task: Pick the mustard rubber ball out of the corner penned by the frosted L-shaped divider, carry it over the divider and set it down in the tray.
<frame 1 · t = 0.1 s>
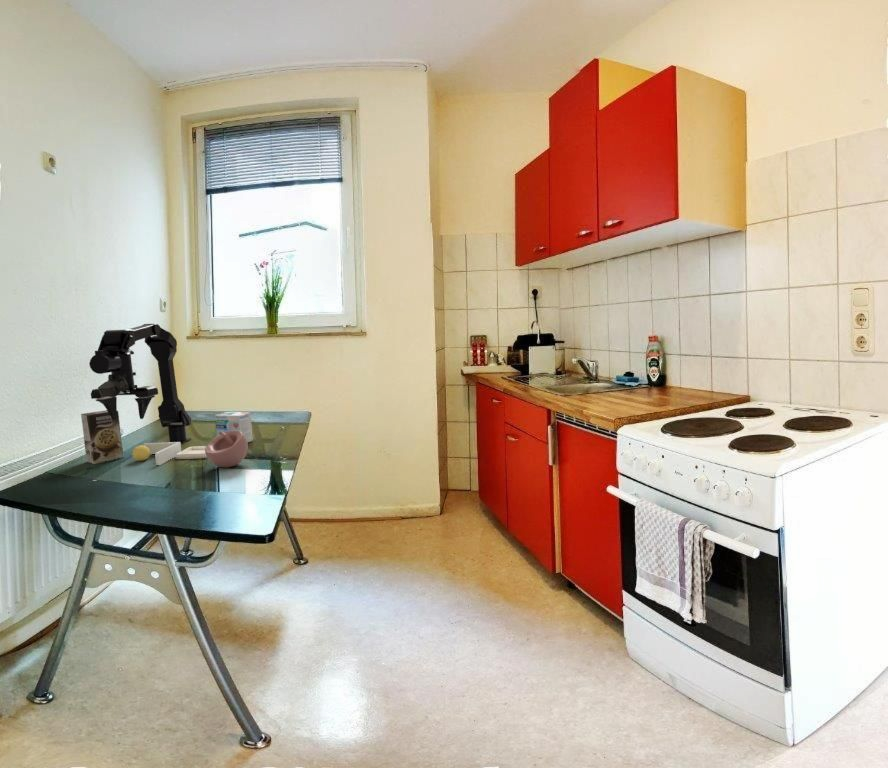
hand: (128, 419, 164), 14 cm above the table, fingers open, 9 cm apart
ball: (142, 460, 169), on the table
pink slanted bowl: (228, 467, 158), on the table
tray: (198, 454, 174), on the table
light bulb box: (235, 442, 190), on the table
divider: (169, 459, 169), on the table
brown upright rectangular box: (105, 460, 173), on the table
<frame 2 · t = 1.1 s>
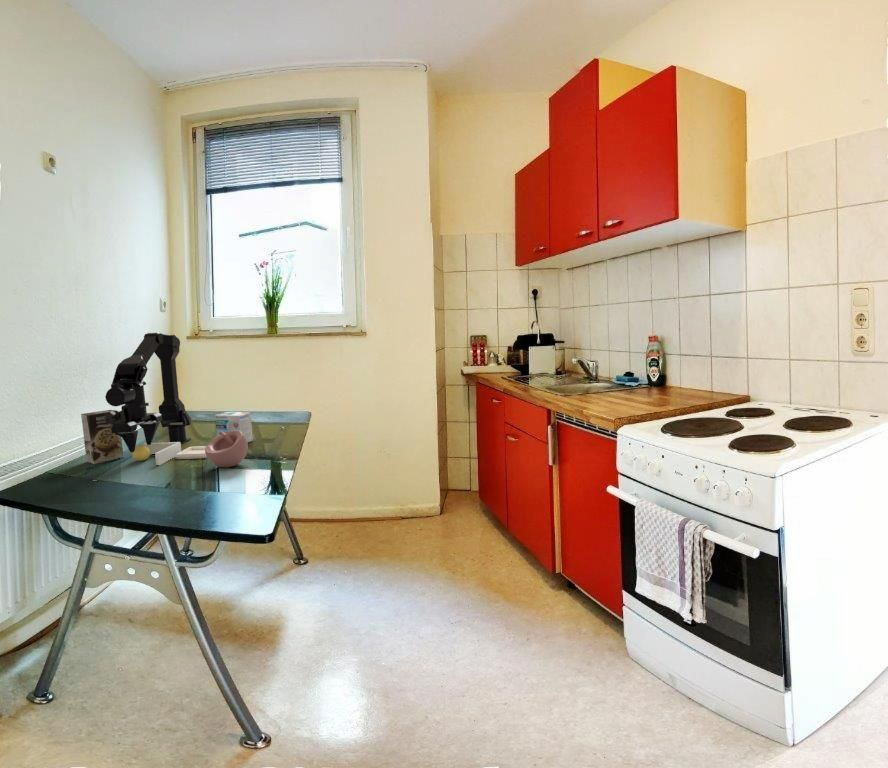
hand: (140, 448, 169), 4 cm above the table, fingers open, 9 cm apart
nothing on the table moved.
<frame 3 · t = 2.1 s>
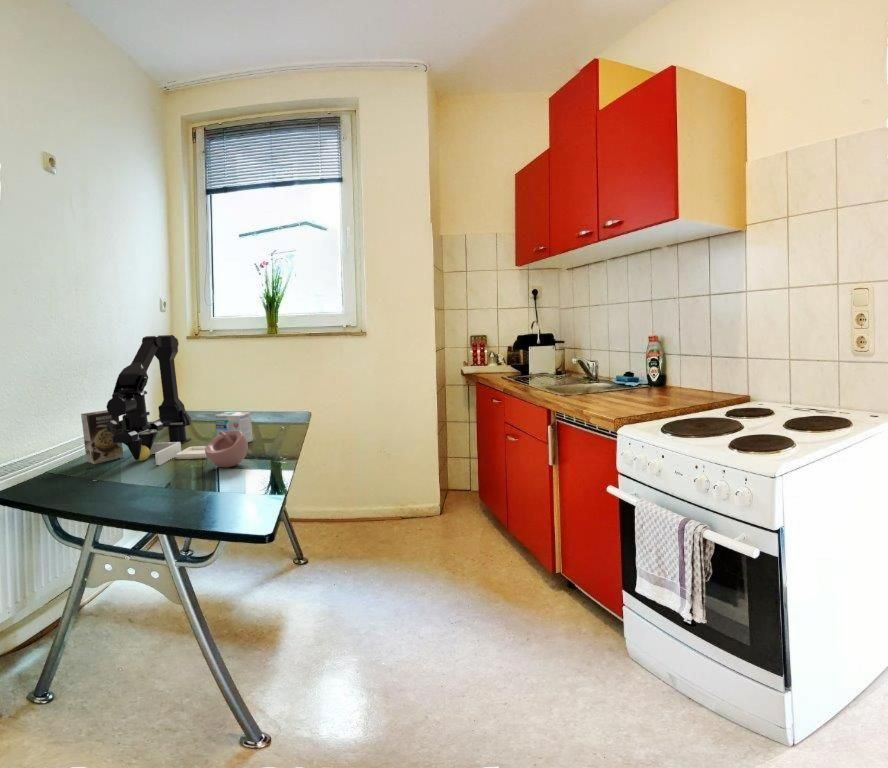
hand: (141, 457, 169), 1 cm above the table, fingers closed on ball, 5 cm apart
ball: (142, 460, 169), on the table, touching gripper
everything else where it was.
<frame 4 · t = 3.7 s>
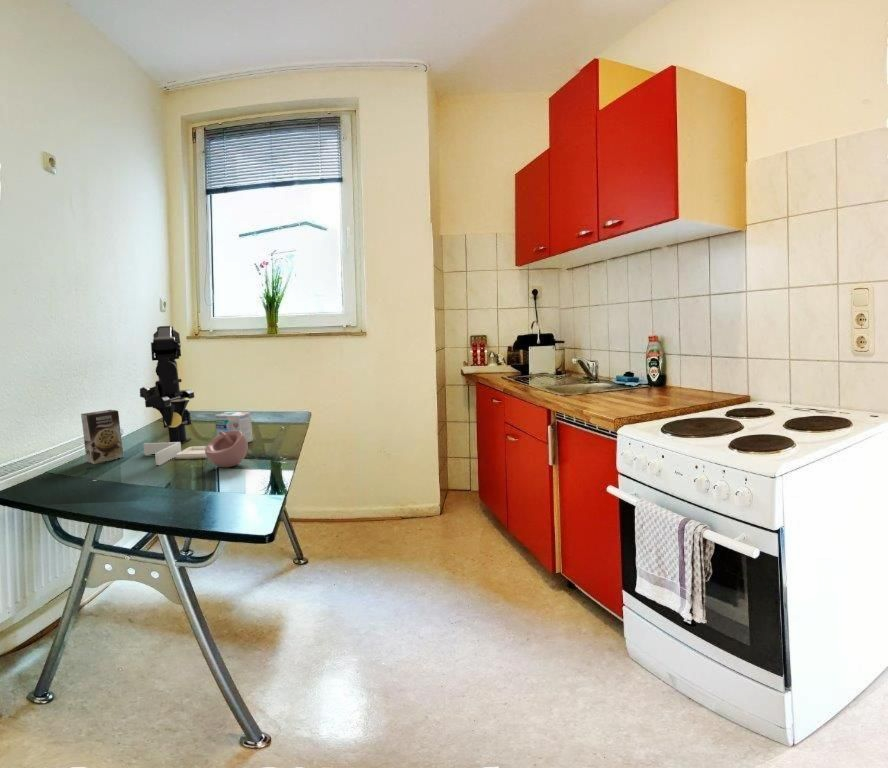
hand: (173, 424, 171), 11 cm above the table, fingers closed on ball, 5 cm apart
ball: (173, 427, 171), point 10 cm above the table, touching gripper
everything else where it was.
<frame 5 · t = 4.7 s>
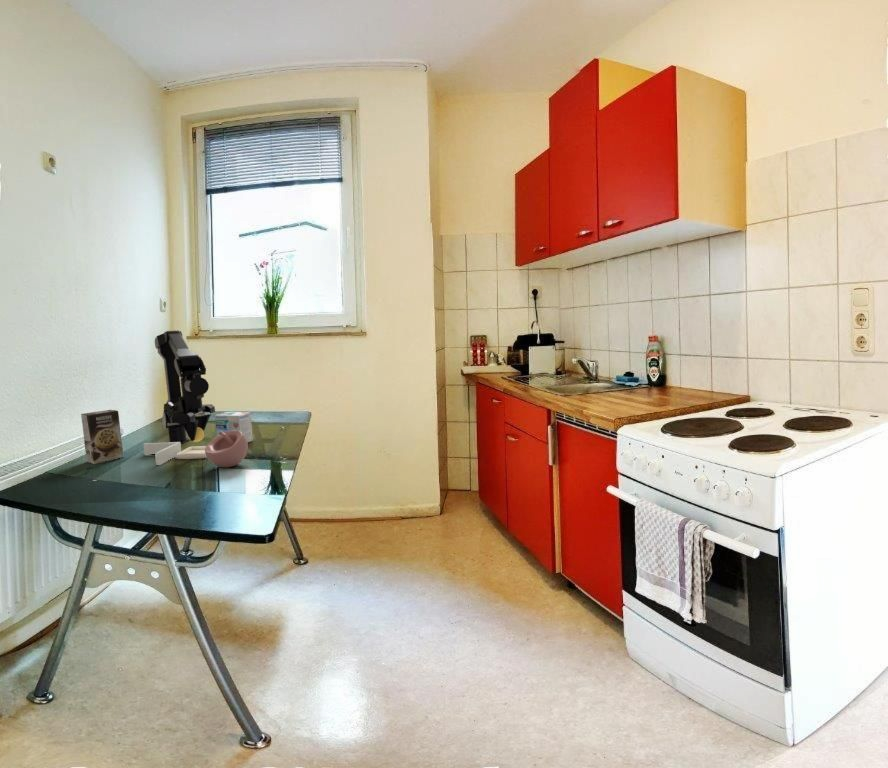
hand: (196, 438, 174), 5 cm above the table, fingers closed on ball, 5 cm apart
ball: (196, 441, 174), point 4 cm above the table, touching gripper
everything else where it was.
when the fingers open (3 cm above the table, at t = 5.3 s): ball drops 2 cm, resting on tray.
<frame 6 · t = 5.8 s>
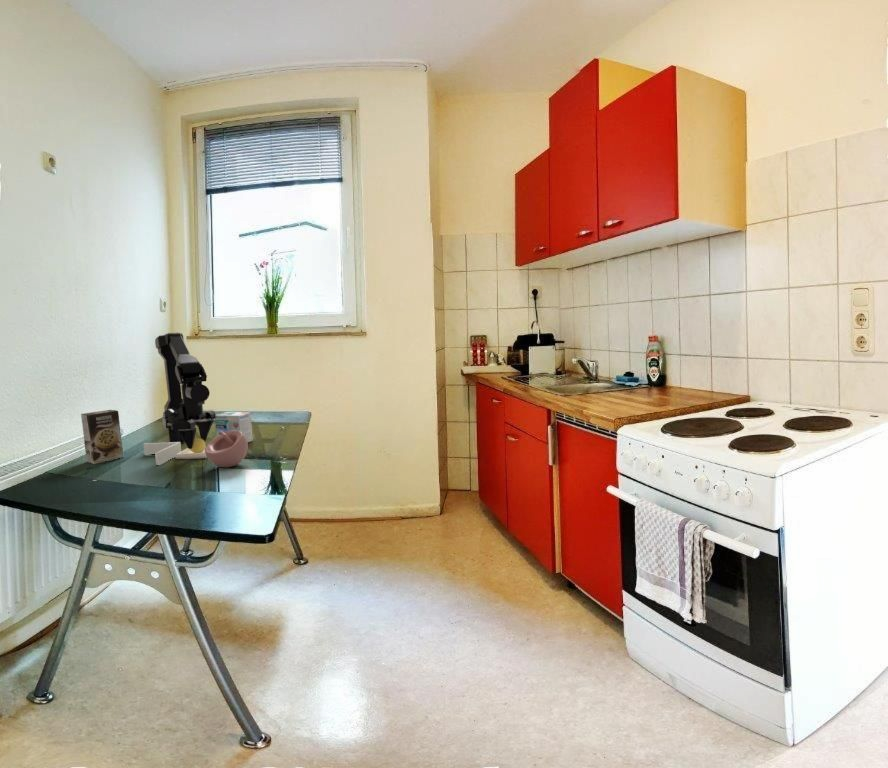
hand: (197, 445, 174), 3 cm above the table, fingers open, 9 cm apart
ball: (198, 452, 174), point 1 cm above the table, touching tray
everything else where it was.
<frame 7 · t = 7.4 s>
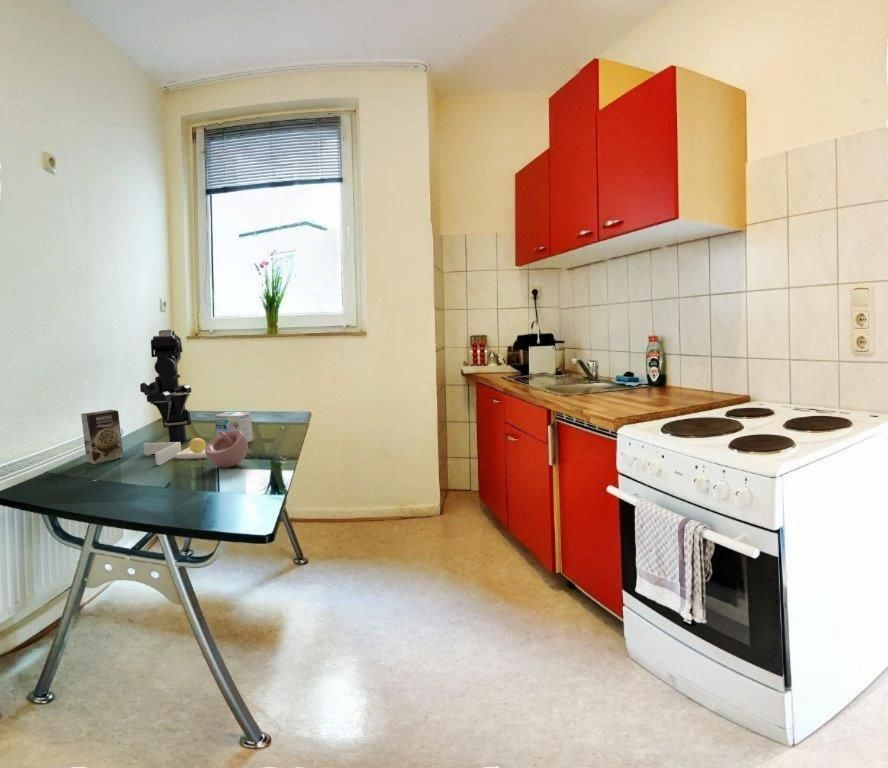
hand: (172, 417, 179), 12 cm above the table, fingers open, 9 cm apart
nothing on the table moved.
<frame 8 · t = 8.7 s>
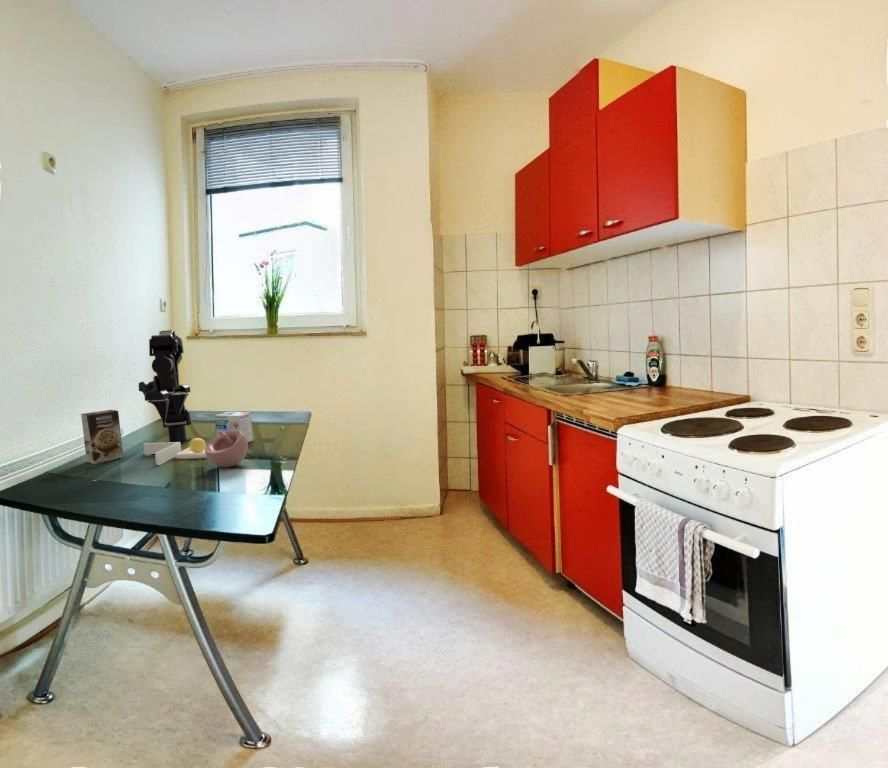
hand: (171, 417, 179), 12 cm above the table, fingers open, 9 cm apart
nothing on the table moved.
at the end: ball inside the target area on the tray (0.0 cm from its centre), point 0.6 cm above the tray's base; the gripper is holding nothing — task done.
